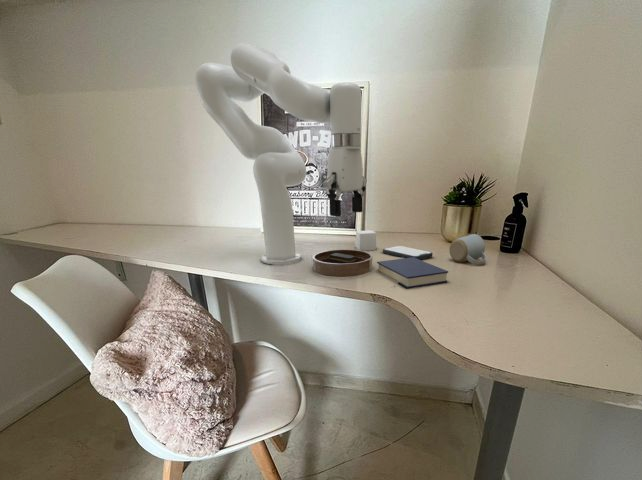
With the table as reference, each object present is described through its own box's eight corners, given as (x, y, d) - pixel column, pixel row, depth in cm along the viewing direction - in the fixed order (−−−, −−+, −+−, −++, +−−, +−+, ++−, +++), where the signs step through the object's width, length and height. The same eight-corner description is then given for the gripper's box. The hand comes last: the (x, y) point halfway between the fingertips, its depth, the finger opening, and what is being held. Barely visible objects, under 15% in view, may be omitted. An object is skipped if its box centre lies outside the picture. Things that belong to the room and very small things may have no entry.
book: (376, 271, 95) (376, 261, 94) (412, 266, 99) (413, 257, 98) (406, 288, 81) (407, 277, 80) (447, 282, 85) (448, 271, 84)
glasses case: (329, 266, 98) (329, 254, 97) (336, 264, 100) (336, 252, 99) (349, 270, 94) (349, 258, 93) (355, 268, 96) (355, 256, 95)
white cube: (359, 250, 119) (359, 233, 116) (355, 247, 124) (355, 231, 122) (376, 249, 120) (376, 232, 117) (371, 246, 125) (371, 230, 123)
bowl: (306, 265, 102) (305, 252, 100) (357, 259, 108) (357, 247, 106) (324, 281, 87) (323, 267, 86) (382, 273, 93) (383, 259, 91)
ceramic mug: (446, 259, 105) (449, 235, 102) (463, 255, 109) (467, 232, 106) (473, 267, 97) (477, 241, 94) (491, 263, 101) (496, 238, 98)
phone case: (380, 253, 116) (415, 261, 104) (380, 248, 115) (415, 256, 103) (399, 249, 120) (434, 257, 108) (399, 245, 120) (434, 252, 107)
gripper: (354, 145, 92) (354, 209, 99) (311, 142, 80) (315, 216, 86) (377, 143, 88) (375, 211, 94) (335, 140, 75) (337, 218, 82)
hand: (346, 213), depth 90 cm, fingers open, 9 cm apart
